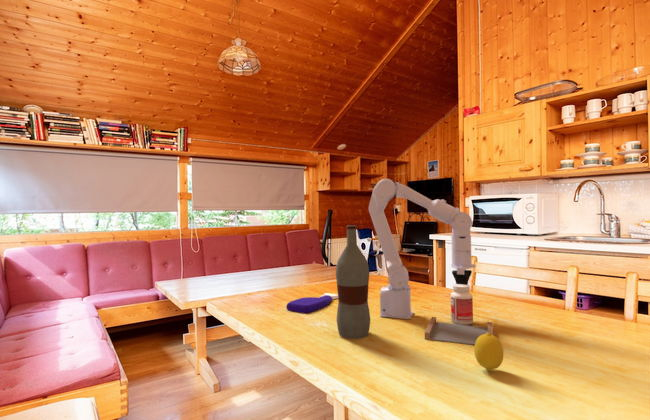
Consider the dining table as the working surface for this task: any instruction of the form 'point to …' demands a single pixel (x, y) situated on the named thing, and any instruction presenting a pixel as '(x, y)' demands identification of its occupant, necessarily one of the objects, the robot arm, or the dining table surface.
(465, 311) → the pill bottle
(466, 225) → the robot arm
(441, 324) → the grey tray
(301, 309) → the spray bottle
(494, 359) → the lemon
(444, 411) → the dining table surface
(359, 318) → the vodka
